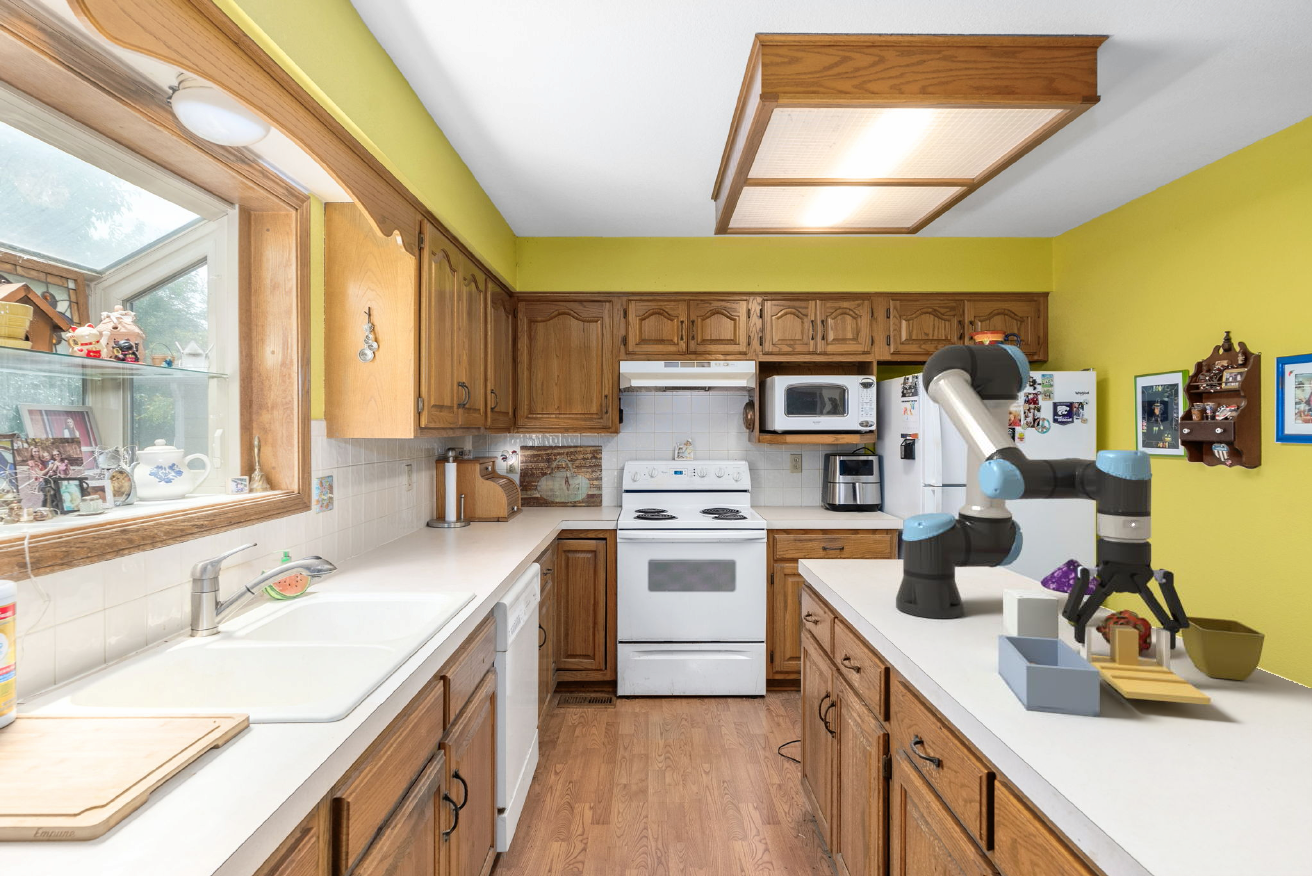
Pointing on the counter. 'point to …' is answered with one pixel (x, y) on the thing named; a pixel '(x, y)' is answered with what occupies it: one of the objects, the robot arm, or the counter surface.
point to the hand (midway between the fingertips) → (1123, 664)
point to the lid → (1142, 672)
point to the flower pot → (1222, 647)
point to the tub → (1049, 675)
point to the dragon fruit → (1128, 620)
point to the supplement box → (1030, 613)
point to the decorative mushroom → (1066, 579)
